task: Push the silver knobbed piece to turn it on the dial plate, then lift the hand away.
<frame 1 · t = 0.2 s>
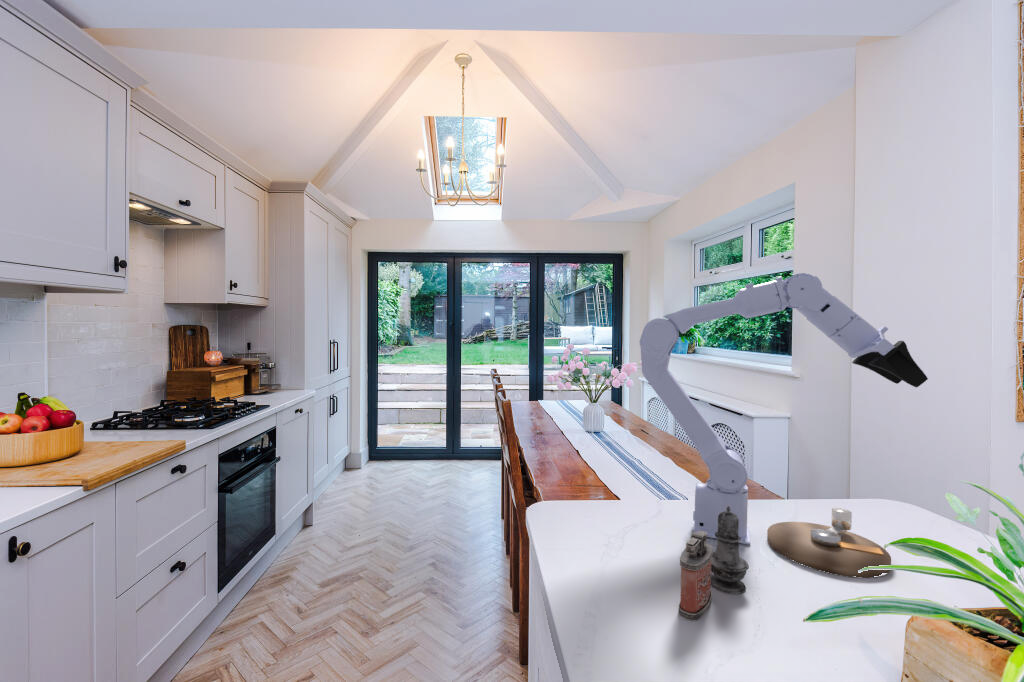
hand: (911, 381, 76), 31 cm above the countertop, tool tilted 45°, fingers open, 7 cm apart
lighter: (695, 606, 64), on the countertop
silver knobbed piece: (832, 525, 83), point 4 cm above the countertop, hinge at 0.0°
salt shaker: (726, 585, 70), on the countertop
dial plate: (825, 550, 81), on the countertop
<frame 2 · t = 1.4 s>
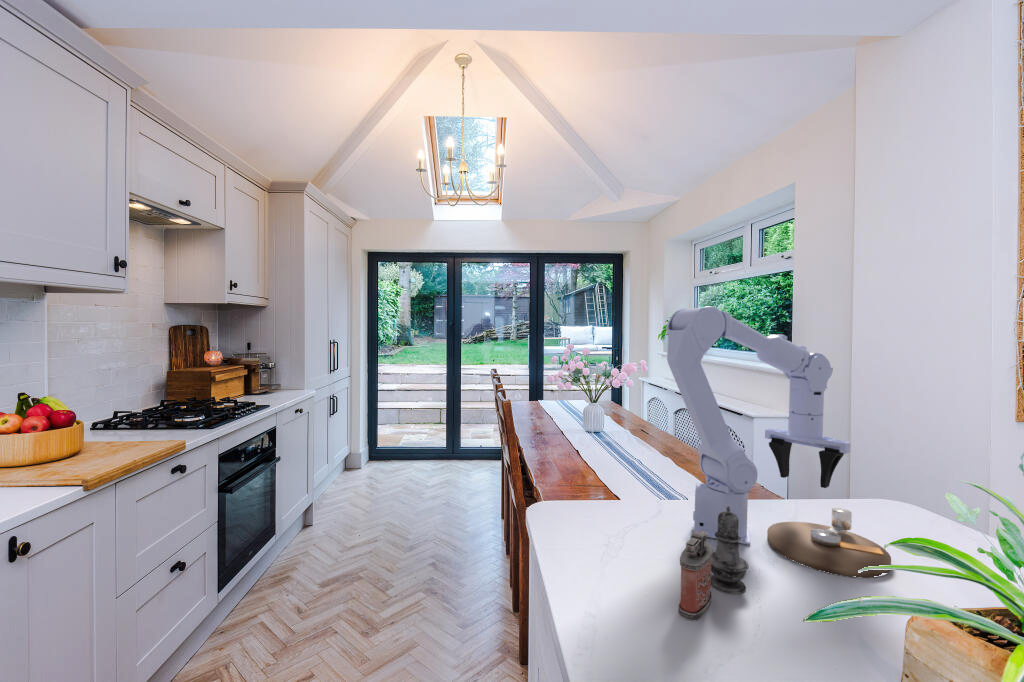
hand: (804, 481, 90), 9 cm above the countertop, tool pointing down, fingers open, 7 cm apart
nothing on the countertop moved.
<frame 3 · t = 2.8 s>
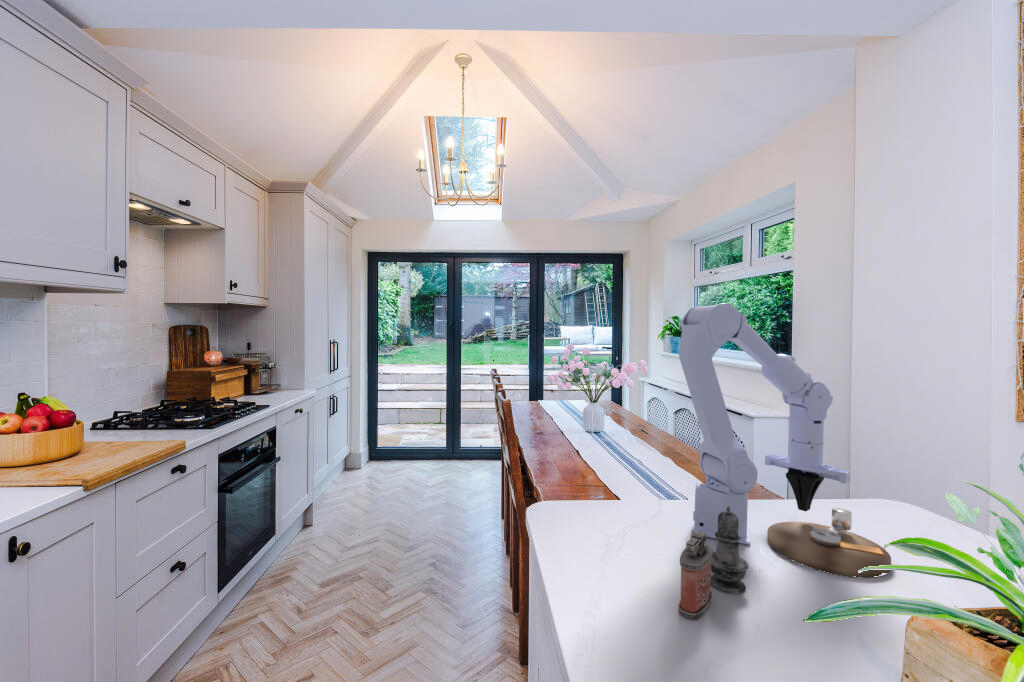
hand: (804, 509, 90), 4 cm above the countertop, tool pointing down, fingers closed
nothing on the countertop moved.
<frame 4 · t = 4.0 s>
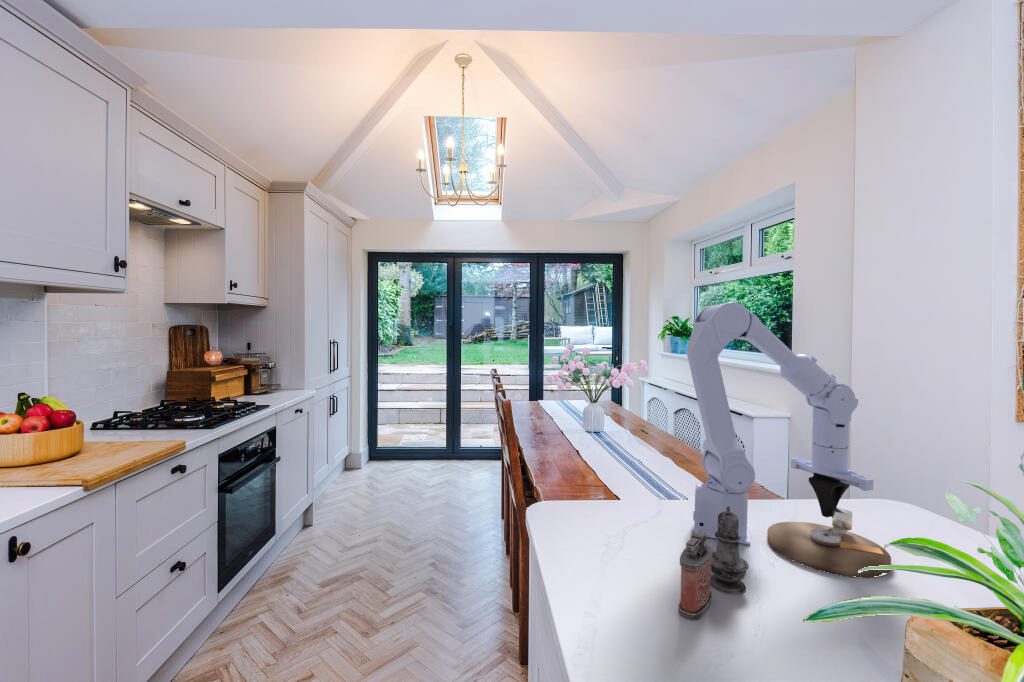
hand: (827, 516, 87), 4 cm above the countertop, tool pointing down, fingers closed
silver knobbed piece: (833, 526, 83), point 4 cm above the countertop, hinge at 0.8°, touching gripper
everything else where it was.
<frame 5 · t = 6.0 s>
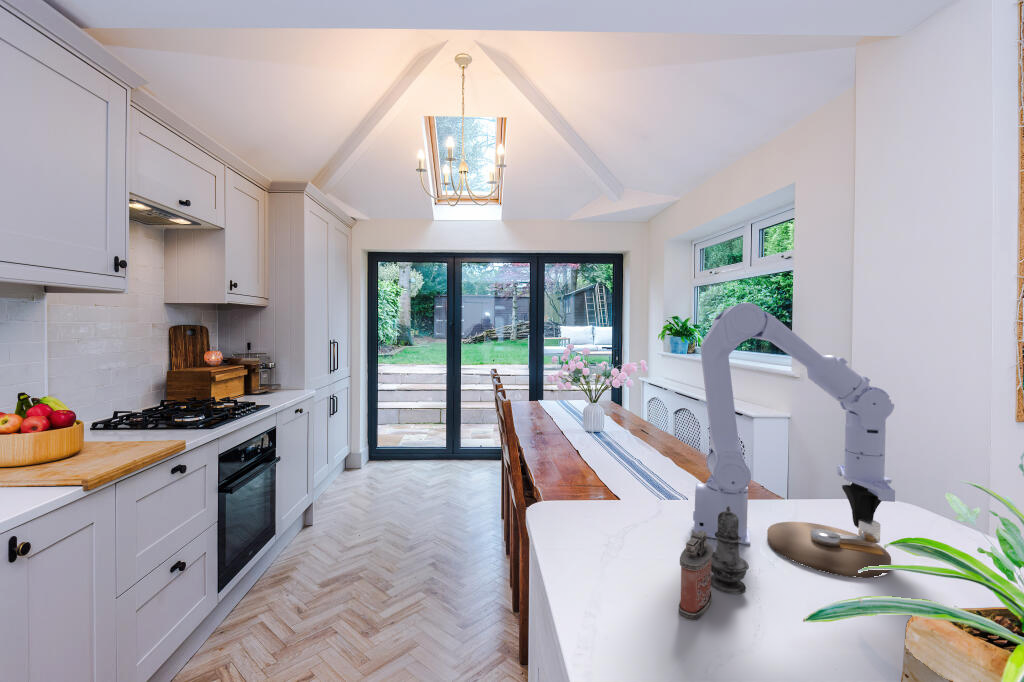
hand: (862, 527, 82), 4 cm above the countertop, tool pointing down, fingers closed, pressing on silver knobbed piece
silver knobbed piece: (845, 531, 80), point 4 cm above the countertop, hinge at 43.9°, touching gripper
everything else where it was.
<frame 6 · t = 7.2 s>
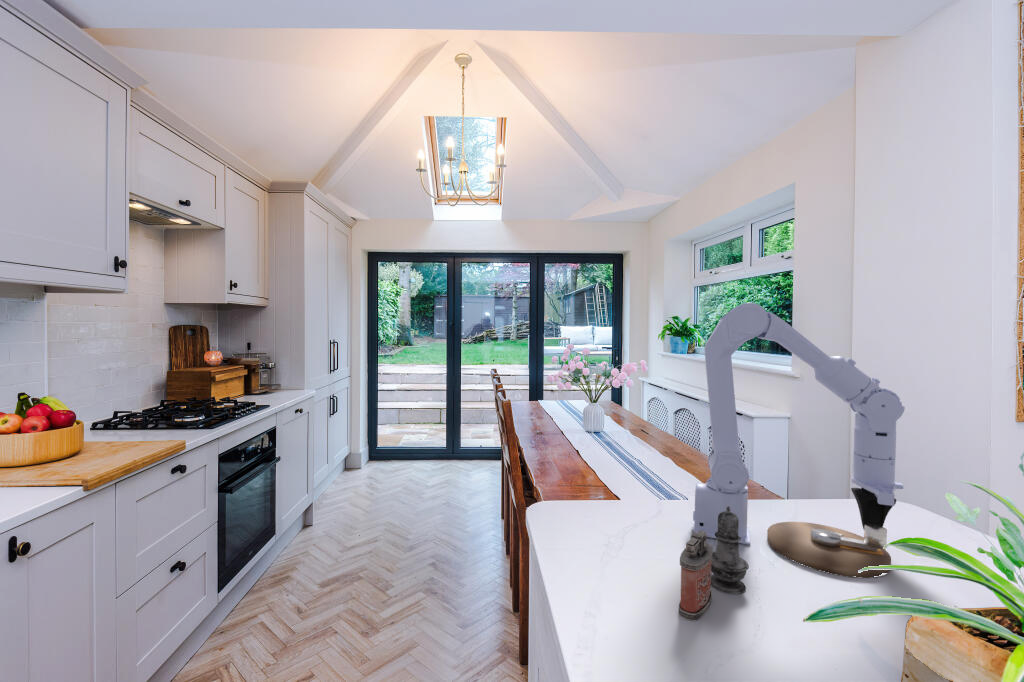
hand: (871, 532, 80), 4 cm above the countertop, tool pointing down, fingers closed
silver knobbed piece: (847, 533, 79), point 4 cm above the countertop, hinge at 63.7°, touching gripper
everything else where it was.
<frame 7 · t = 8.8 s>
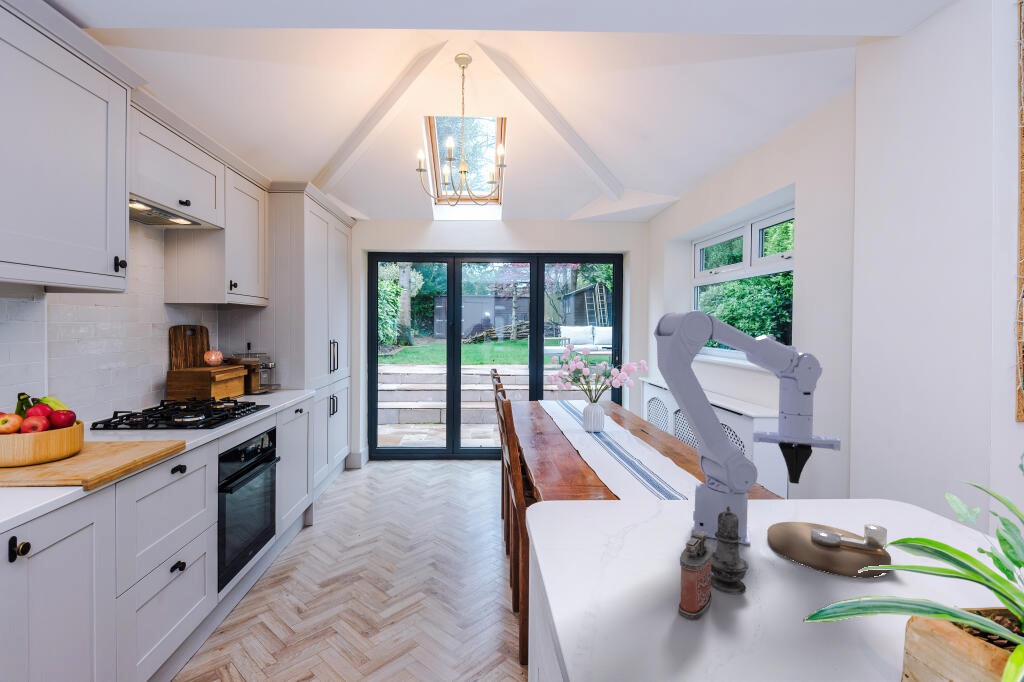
hand: (793, 482, 90), 9 cm above the countertop, tool pointing down, fingers closed
silver knobbed piece: (847, 533, 79), point 4 cm above the countertop, hinge at 63.9°
everything else where it was.
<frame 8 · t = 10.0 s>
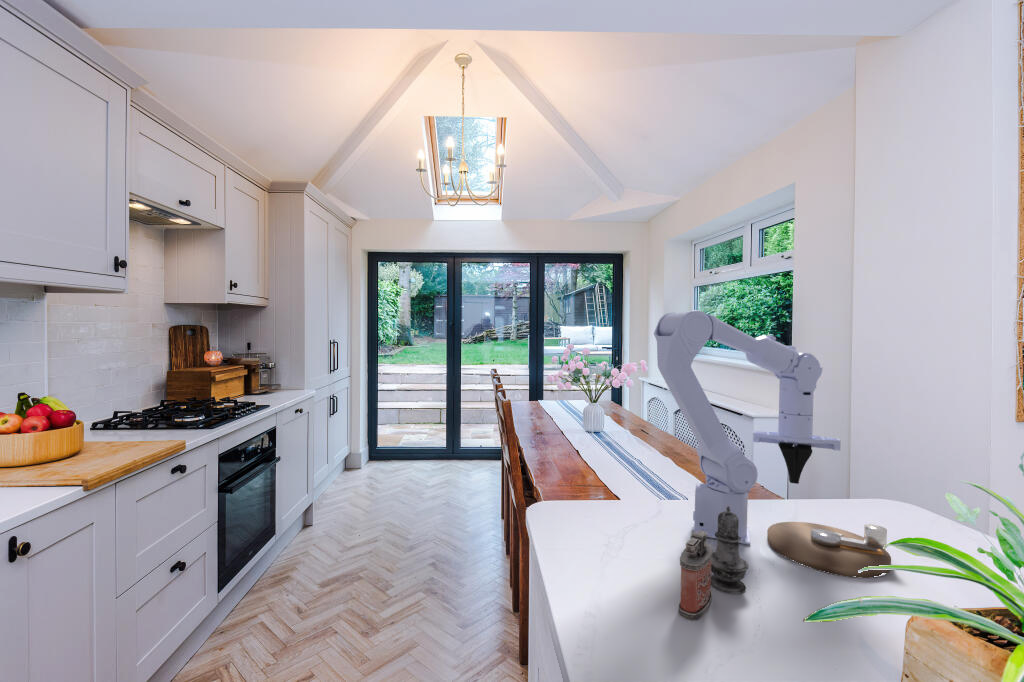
hand: (793, 482, 90), 9 cm above the countertop, tool pointing down, fingers closed
nothing on the countertop moved.
at the end: silver knobbed piece at +64° (first picture: +0°); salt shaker moved 0.2 cm from its start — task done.
